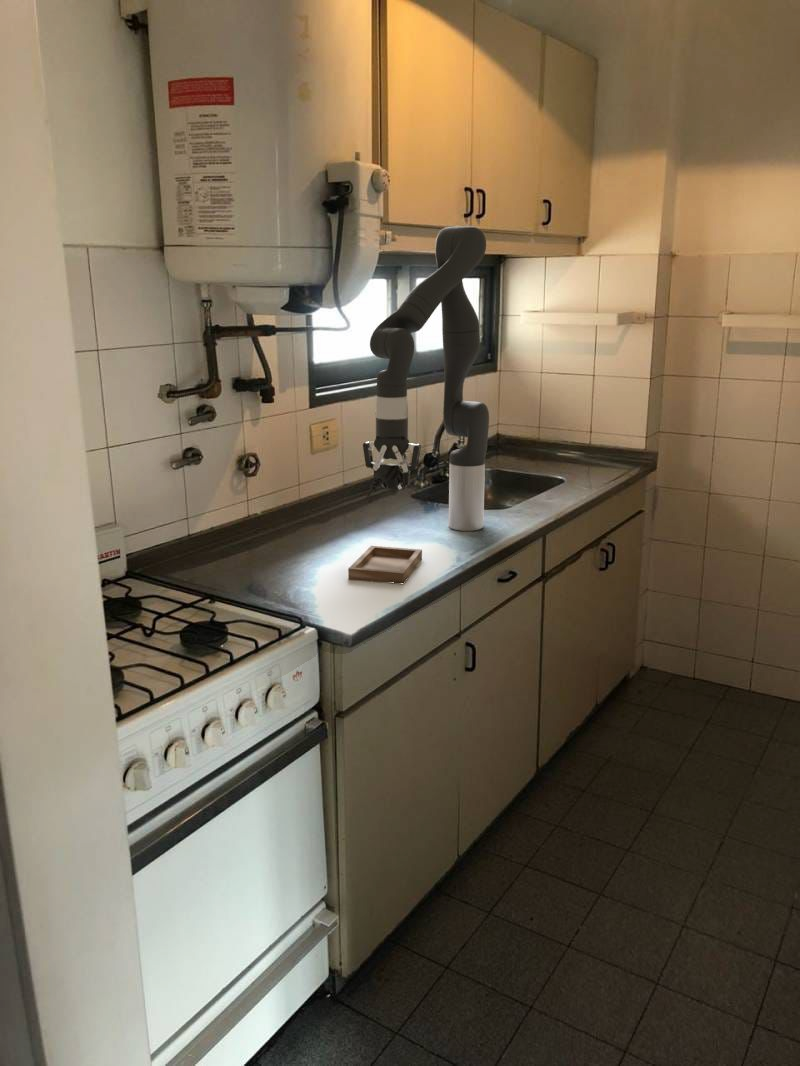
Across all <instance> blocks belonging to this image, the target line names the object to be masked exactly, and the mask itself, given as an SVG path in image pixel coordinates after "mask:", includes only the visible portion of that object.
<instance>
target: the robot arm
mask: <svg viewBox="0 0 800 1066" xmlns="http://www.w3.org/2000/svg"><path fill="white" fill-rule="evenodd" d="M434 248H435V251H434V252H435V260H436V270H435V271H434V272H433V273H431V274H430V275H429V276H427V277H426V278H424V279H423V280H421V282H419V283H417V285H416V286H415V287H414V288H412V290H410V292H409V293H408V294H407V296H406V297H405V299H404V300H403V301H402V303H401V304H400V306H398V308H397V309H396V311H394V312H393V313H391V314H390V315H389V316H387V318H385V319H384V320H383V321H382V322H381V323H380V324H378V325H377V327H375V329H374V330H373V332H372V333H371V337H370V341H369V348H370V351H371V353H372V354H373V355H374V356H375V357H377V358H380V359H385V360H388V361H389V362H388V365H387V368H386V369H383V370H380V371H379V372H378V373H377V375H376V402H375V412H374V414H375V439H374V441H369V440H368V441H365V442H363V443H362V449H363V456H364V462H365V467H366V468H369V469H371V470H373V478H374V477H375V475H376V474H375V473H376V472H377V471H378V469H379V468H380V466H381V465H382V464H383V463H384V461H385V460H390V459H391V460H395V461H398V463H399V465H400V466H401V469H402V474H403V479H402V483H401V484H402V485H401V487H402V488H404V489H405V488H408V486H409V485H410V483H411V471H415V470H416V469H417V468H419V462H420V456H421V449H422V444H421V443H417V444H415V443H411V442H410V440H409V405H408V397H407V396H408V376H409V373H410V370H411V365H412V361H413V359H414V353H415V341H414V337H413V335H412V334H413V333H416V332H419V331H420V330H421V329H422V328H423V327H424V326H425V325H426V323H427V322H428V321H429V319H430V317H431V316H432V315H433V313H434V312H435V310H436V309H437V308H438V306H439V305H440V304H441V316H442V317H441V319H442V320H441V322H442V324H441V327H442V330H441V332H442V347H443V349H442V350H443V351H442V352H443V366H444V369H443V370H444V387H443V390H444V391H443V408H442V409H443V411H442V413H443V416H442V418H443V419H442V420H443V425H444V430H445V432H446V433H447V434H448V435H450V436H453V437H461V438H462V437H463V438H467V441H466V445H465V446H464V447H462V448H457V449H454V450H452V451H451V452H450V453H449V469H448V470H449V471H448V472H449V473H448V474H449V477H448V478H449V479H448V480H449V481H448V491H449V493H448V528H450V529H452V530H456V531H462V532H463V531H464V532H465V531H466V532H469V531H471V532H472V531H478V530H481V529H483V528H484V516H485V515H484V514H485V476H486V475H485V474H486V473H485V471H486V456H487V451H488V442H489V441H488V438H489V428H490V413H489V409H488V406H487V405H486V404H485V403H484V402H481V401H480V402H479V401H472V400H464V396H463V395H464V383H465V380H466V377H467V375H468V373H469V371H470V370H471V367H472V366H473V364H474V362H475V360H476V359H477V357H478V355H479V352H480V348H481V345H480V344H481V340H480V339H481V333H480V322H479V317H478V314H477V312H476V311H475V309H474V306H473V305H472V303H471V301H470V298H469V297H468V295H467V292H466V291H465V288H464V287H465V286H464V283H463V280H464V278H466V276H468V275H469V274H470V273H471V272H472V271H473V270H474V269H475V268H476V267H477V266H478V265H479V264H480V262H482V260H483V258H484V256H485V254H486V250H487V240H486V236H485V234H484V232H483V230H482V229H480V228H479V227H476V226H471V225H468V226H466V225H465V226H445V227H444V228H442V229H441V230H439V232H438V233H437V236H436V239H435V247H434ZM374 448H375V449H376V450H377V452H378V455H377V456H376V459H375V462H374V458H373V457H374V456H373V450H374ZM408 449H409V450H410V453H411V455H412V456H411V463H409V460H408V457H407V455H406V452H407V451H408Z"/></svg>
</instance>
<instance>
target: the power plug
mask: <svg viewBox="0 0 800 1066" xmlns="http://www.w3.org/2000/svg"><path fill="white" fill-rule="evenodd" d="M375 474H376V475H375V477H374V476H373V479H372V481H371V484H370V486H369V487H370V490H369V492H367V494H366V496H365V497H366V498H367V499H368V498H370V496H371V495H372V493H373V492H374V491H377V490H378V489H379V488H380V487H382V488H383V489H388V490H392V489H395V488H397V489H398V490H402V488H403V486H402V485H401V484H402V480H403V471H402V470H401V468H400V466H399V465H398V464H394V463H388V464H387V463H385V464H383V463H382V465H381V466H380V468H379V469H378V471H377V472H376V473H375Z"/></svg>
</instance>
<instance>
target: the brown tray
mask: <svg viewBox="0 0 800 1066" xmlns="http://www.w3.org/2000/svg"><path fill="white" fill-rule="evenodd" d="M422 561H423V549H420V548H419V549H418V548H406V547H404V548H403V547H394V546H393V547H392V546H382V545H380V546H379V545H378V546H377V545H370V546H369V547H368V548H367V549H366V550H365V551H364V552H363V553H362V554H361V555H360V557H358V558H357V560H355V561H354V562H353V563H352V564H351V565H350V566H349V567H348V568H347V572H348V578H347V579H348V580H351V581H362V582H372V581H373V582H374V583H383V582H394V583H393V584H395V583H404V582H405V583H406V582H407V580H408V579H409V578H410V576H411V575H412V573H414V571H415V570H416V569H417V567H418V566H419V564H420V563H421V562H422ZM407 578H408V579H407ZM406 579H407V580H406ZM405 583H404V584H405Z"/></svg>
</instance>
